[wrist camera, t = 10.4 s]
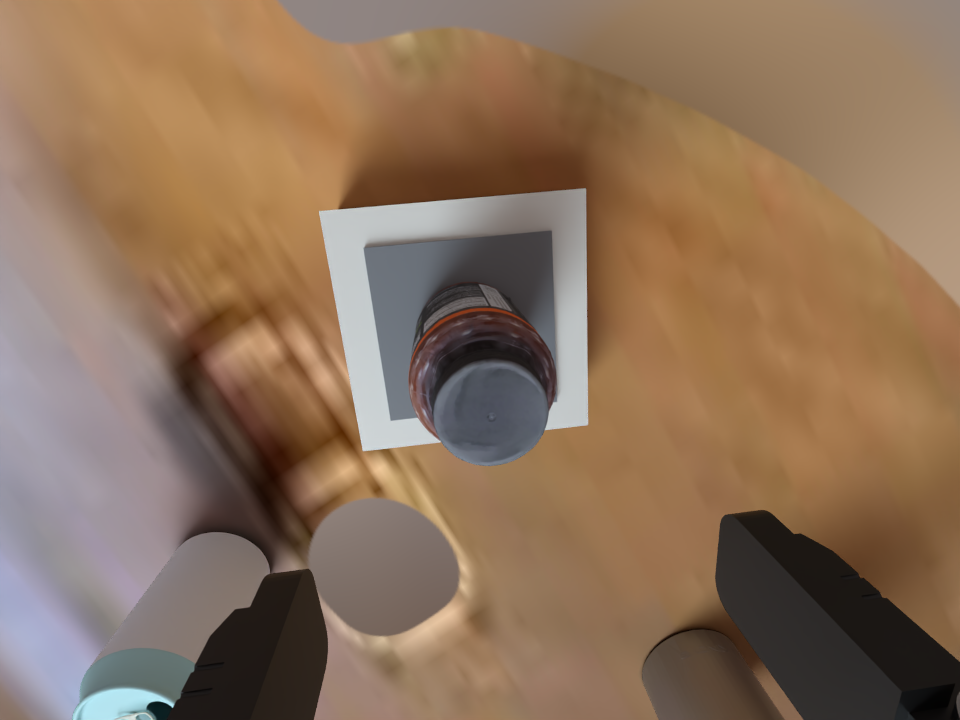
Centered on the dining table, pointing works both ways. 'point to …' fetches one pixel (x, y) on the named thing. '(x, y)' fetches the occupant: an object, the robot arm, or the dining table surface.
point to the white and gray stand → (446, 261)
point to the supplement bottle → (480, 375)
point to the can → (171, 628)
